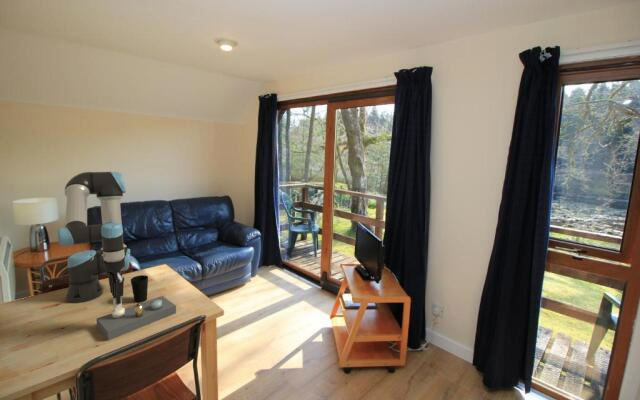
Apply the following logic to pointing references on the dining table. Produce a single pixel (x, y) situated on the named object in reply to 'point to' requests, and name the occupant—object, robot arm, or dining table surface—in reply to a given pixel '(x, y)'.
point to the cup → (140, 288)
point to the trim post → (138, 310)
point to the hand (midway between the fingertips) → (118, 309)
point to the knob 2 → (156, 304)
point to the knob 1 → (118, 313)
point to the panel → (134, 318)
